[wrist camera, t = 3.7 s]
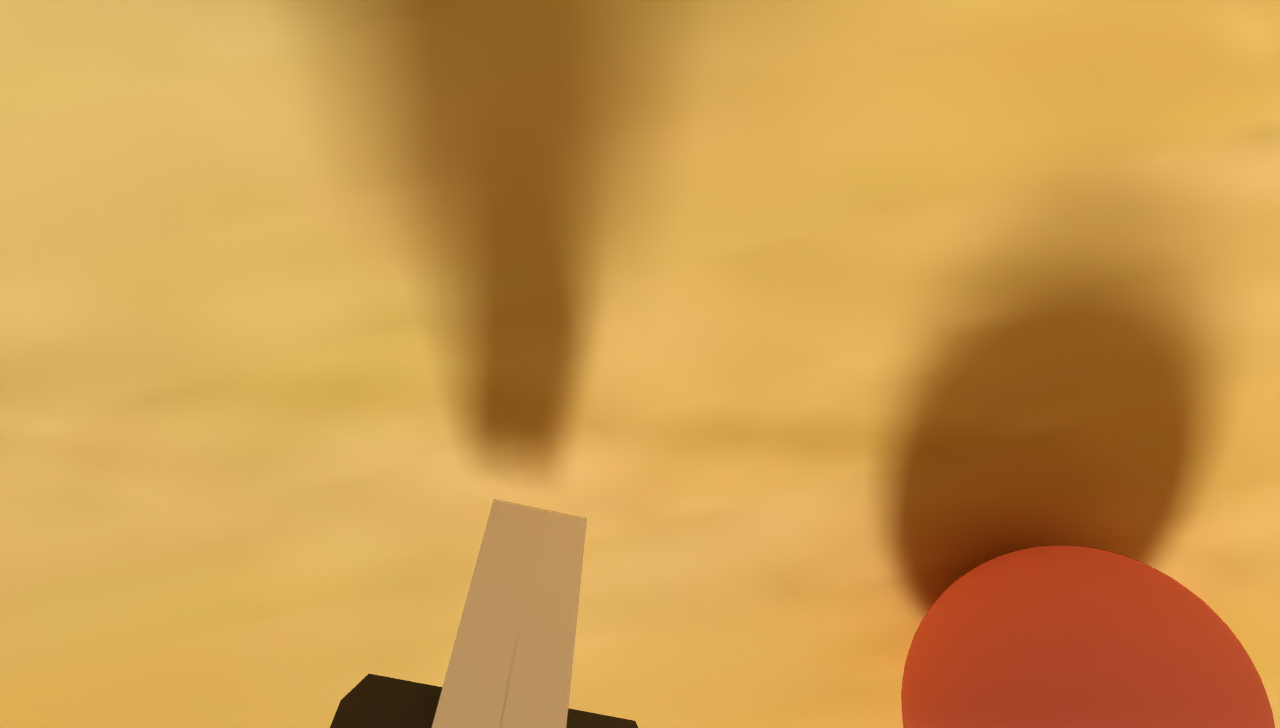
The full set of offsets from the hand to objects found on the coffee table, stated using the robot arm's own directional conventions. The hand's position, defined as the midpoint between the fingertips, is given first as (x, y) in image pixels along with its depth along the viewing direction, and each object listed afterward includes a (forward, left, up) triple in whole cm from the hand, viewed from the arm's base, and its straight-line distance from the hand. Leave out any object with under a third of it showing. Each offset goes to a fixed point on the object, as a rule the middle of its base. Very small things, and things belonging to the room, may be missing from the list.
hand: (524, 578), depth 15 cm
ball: (+9, +3, +1) cm, 9 cm away
